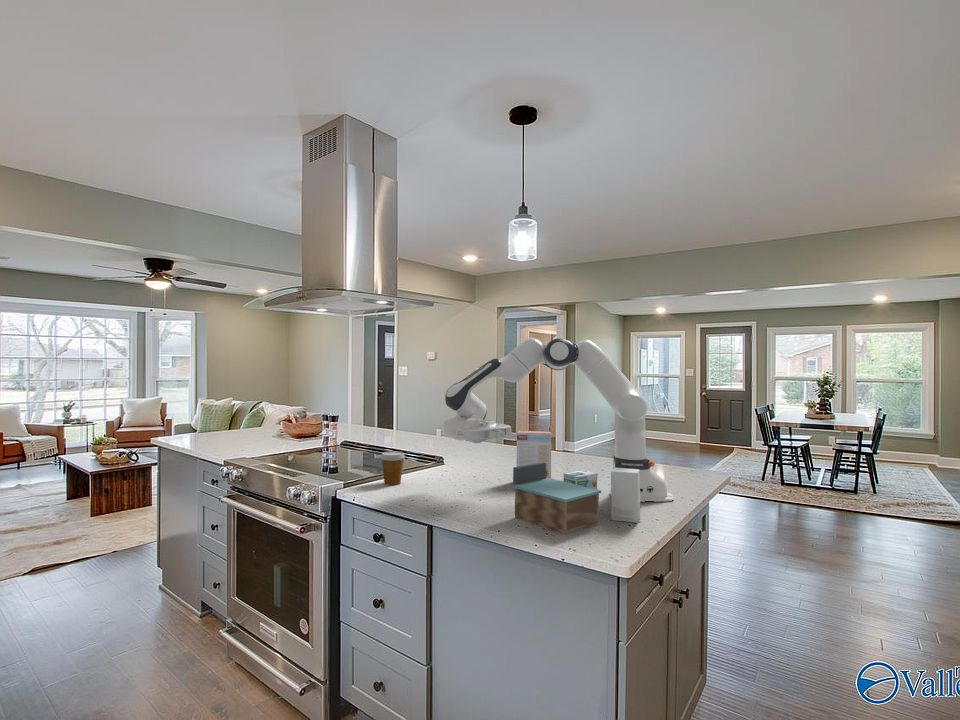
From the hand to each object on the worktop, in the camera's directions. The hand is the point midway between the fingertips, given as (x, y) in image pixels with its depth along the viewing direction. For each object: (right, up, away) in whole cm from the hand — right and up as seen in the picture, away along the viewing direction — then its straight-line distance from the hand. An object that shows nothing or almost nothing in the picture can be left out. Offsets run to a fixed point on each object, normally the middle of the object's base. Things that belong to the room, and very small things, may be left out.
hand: (501, 434), depth 175 cm
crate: (+16, -24, -19) cm, 34 cm away
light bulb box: (+27, -24, 0) cm, 37 cm away
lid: (+16, -14, -18) cm, 28 cm away
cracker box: (+14, -24, +30) cm, 41 cm away
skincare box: (+38, -24, -16) cm, 48 cm away
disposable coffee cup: (-42, -23, +25) cm, 54 cm away
